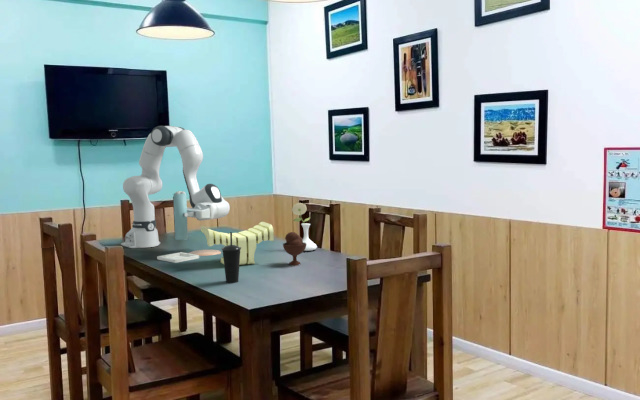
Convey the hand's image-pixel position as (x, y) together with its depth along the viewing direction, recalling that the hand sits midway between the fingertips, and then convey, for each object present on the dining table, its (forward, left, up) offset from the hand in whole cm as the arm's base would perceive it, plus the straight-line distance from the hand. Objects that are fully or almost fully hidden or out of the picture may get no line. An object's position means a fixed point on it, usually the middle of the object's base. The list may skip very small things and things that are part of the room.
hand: (179, 214), depth 278 cm
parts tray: (0, -2, -22) cm, 22 cm away
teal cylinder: (0, +1, -12) cm, 12 cm away
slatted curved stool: (+29, +10, -22) cm, 38 cm away
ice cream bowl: (+52, +24, -22) cm, 62 cm away
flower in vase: (+32, +54, -22) cm, 67 cm away
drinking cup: (+55, -17, -22) cm, 62 cm away
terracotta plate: (-2, +16, -22) cm, 27 cm away
